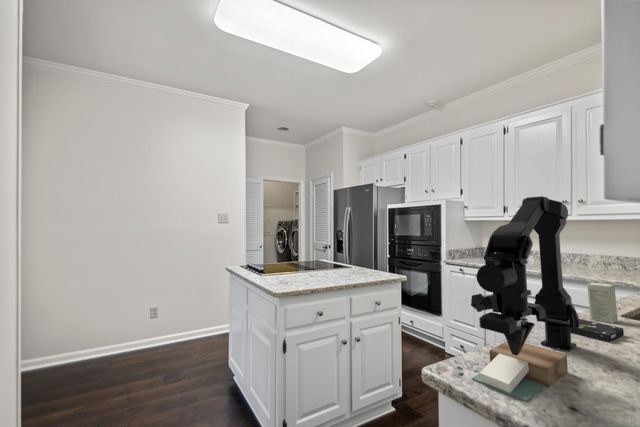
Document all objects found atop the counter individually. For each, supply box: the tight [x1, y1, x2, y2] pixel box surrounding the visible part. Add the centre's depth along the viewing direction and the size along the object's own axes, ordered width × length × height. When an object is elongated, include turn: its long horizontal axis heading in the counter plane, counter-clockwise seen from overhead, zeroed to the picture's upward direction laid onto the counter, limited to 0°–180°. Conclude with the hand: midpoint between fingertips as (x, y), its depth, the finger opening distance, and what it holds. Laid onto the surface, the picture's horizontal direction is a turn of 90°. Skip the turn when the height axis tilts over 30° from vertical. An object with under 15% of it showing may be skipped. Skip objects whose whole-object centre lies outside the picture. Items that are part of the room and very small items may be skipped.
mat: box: [471, 373, 546, 403], centre depth 68 cm, size 9×11×1 cm
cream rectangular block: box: [479, 353, 529, 393], centre depth 68 cm, size 9×6×2 cm, turn 125°
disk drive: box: [571, 318, 625, 344], centre depth 96 cm, size 10×3×15 cm
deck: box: [488, 341, 569, 389], centre depth 73 cm, size 11×12×4 cm
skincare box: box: [587, 282, 619, 324], centre depth 106 cm, size 6×4×12 cm
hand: (515, 354), depth 70 cm, fingers closed
